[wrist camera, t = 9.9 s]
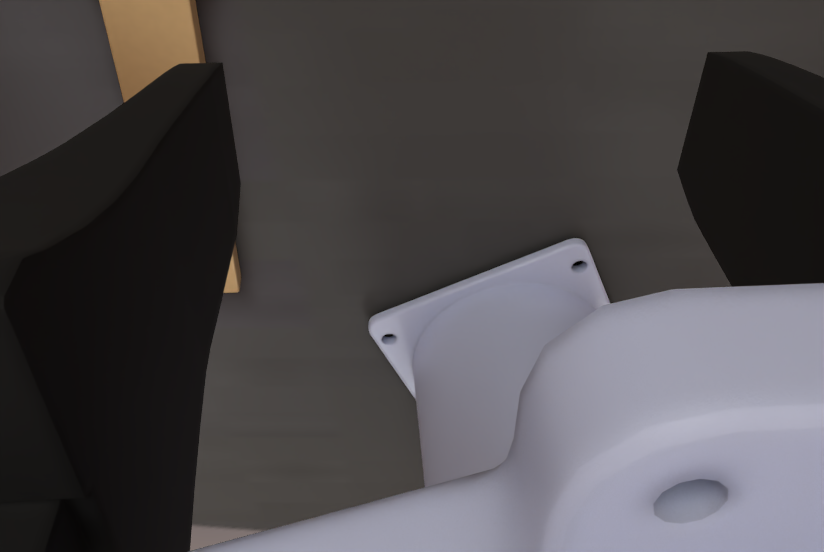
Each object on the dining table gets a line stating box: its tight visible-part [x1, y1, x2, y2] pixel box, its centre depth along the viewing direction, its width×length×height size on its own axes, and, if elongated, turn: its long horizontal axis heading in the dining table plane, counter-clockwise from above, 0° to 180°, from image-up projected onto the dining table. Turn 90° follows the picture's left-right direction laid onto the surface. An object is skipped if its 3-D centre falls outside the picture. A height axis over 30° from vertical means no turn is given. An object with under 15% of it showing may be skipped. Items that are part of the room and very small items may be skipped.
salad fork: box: [99, 0, 241, 293], centre depth 20 cm, size 18×5×1 cm, turn 179°
